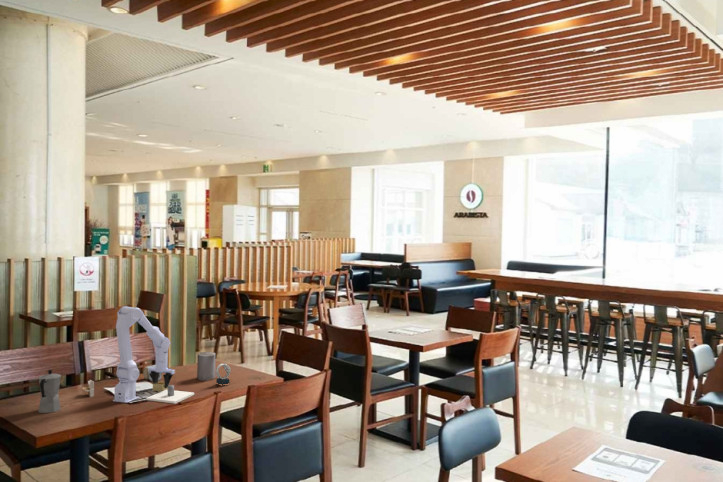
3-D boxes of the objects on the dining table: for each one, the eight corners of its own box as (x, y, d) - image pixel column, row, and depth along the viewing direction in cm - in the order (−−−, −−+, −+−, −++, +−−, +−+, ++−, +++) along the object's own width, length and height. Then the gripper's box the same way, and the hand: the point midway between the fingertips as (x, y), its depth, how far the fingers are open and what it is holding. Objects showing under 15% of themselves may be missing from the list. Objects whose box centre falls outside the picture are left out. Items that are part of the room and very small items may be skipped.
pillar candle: (196, 376, 323) (197, 349, 323) (214, 375, 326) (215, 349, 326) (197, 381, 314) (197, 353, 313) (215, 380, 317) (216, 352, 316)
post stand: (175, 403, 272) (175, 391, 272) (146, 400, 277) (146, 388, 277) (194, 394, 288) (194, 383, 288) (166, 391, 292) (166, 380, 292)
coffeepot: (45, 405, 265) (45, 366, 265) (66, 405, 266) (67, 366, 266) (29, 416, 250) (29, 374, 249) (52, 416, 250) (52, 374, 250)
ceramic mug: (142, 378, 316) (142, 364, 316) (157, 376, 322) (157, 362, 321) (149, 383, 308) (149, 368, 308) (164, 380, 313) (165, 366, 313)
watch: (232, 384, 309) (232, 363, 309) (219, 386, 303) (219, 365, 303) (226, 382, 313) (226, 361, 313) (213, 384, 307) (213, 364, 307)
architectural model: (86, 398, 279) (86, 383, 279) (81, 395, 284) (82, 380, 284) (94, 397, 282) (94, 381, 281) (89, 394, 287) (89, 379, 286)
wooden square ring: (162, 392, 291) (162, 385, 291) (152, 391, 292) (152, 384, 292) (169, 389, 296) (169, 382, 296) (159, 388, 298) (159, 381, 298)
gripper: (178, 359, 296) (178, 386, 296) (154, 357, 300) (153, 383, 300) (170, 362, 289) (169, 389, 289) (145, 360, 293) (145, 387, 294)
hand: (161, 387), depth 294 cm, fingers closed on wooden square ring, 6 cm apart
